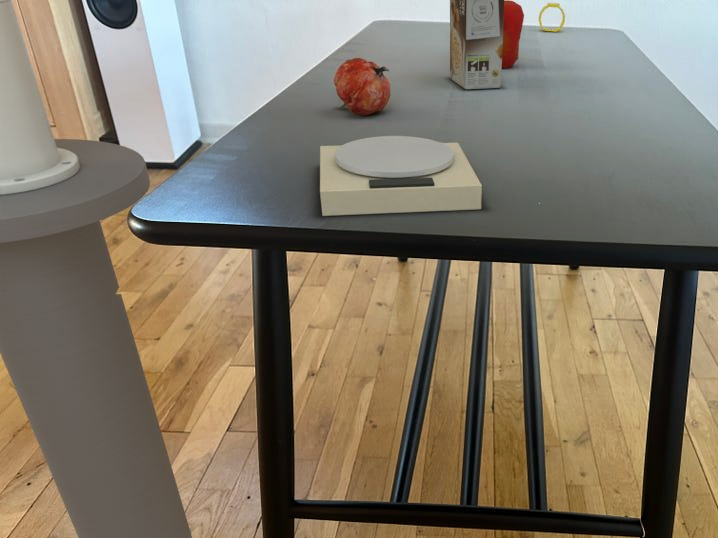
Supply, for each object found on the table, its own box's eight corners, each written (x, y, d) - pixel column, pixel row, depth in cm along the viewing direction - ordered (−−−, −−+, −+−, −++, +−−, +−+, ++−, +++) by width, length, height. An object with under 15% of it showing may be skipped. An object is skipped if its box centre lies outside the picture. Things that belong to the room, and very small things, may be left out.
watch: (538, 32, 161) (540, 3, 157) (537, 30, 163) (539, 2, 160) (564, 32, 161) (566, 4, 158) (562, 30, 163) (565, 2, 160)
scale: (322, 216, 64) (318, 181, 62) (322, 167, 75) (319, 137, 73) (481, 209, 66) (482, 175, 65) (457, 163, 78) (458, 134, 76)
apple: (498, 59, 130) (500, -11, 124) (531, 66, 126) (536, -6, 119) (465, 65, 125) (466, -9, 119) (498, 72, 120) (501, -4, 114)
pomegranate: (331, 133, 94) (372, 96, 87) (309, 82, 94) (348, 41, 87) (371, 129, 99) (413, 93, 92) (351, 81, 99) (391, 42, 92)
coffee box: (502, 88, 110) (507, -27, 101) (464, 90, 108) (466, -27, 99) (483, 76, 117) (486, -32, 108) (447, 78, 116) (447, -32, 107)
